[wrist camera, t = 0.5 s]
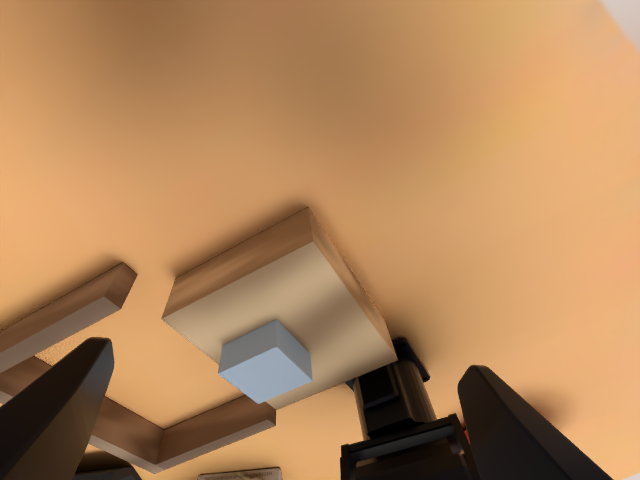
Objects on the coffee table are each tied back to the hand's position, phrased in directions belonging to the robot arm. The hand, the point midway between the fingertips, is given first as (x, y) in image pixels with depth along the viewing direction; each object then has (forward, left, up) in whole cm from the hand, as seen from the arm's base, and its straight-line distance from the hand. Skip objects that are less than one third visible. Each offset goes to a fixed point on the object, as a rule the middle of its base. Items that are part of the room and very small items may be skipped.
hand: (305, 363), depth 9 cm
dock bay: (-9, +18, -13) cm, 24 cm away
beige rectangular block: (-9, +5, -13) cm, 17 cm away
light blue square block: (-9, +7, -9) cm, 15 cm away
